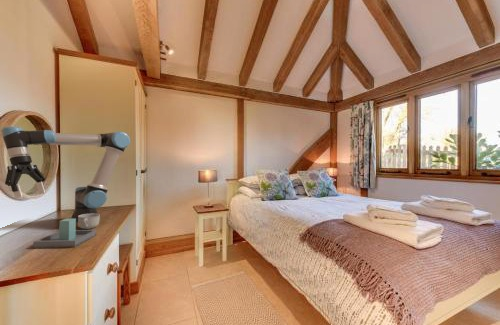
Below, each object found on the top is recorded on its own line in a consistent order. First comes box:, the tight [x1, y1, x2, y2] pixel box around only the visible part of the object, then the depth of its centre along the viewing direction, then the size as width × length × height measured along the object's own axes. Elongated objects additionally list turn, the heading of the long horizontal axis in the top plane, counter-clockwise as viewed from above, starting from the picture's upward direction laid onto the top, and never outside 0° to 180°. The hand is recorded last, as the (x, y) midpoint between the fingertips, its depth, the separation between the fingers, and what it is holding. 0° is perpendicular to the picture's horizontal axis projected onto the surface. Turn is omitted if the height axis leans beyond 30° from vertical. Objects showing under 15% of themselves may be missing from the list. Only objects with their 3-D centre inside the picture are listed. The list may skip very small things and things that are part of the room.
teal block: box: [58, 218, 77, 240], centre depth 105 cm, size 4×4×10 cm
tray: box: [33, 229, 97, 249], centre depth 105 cm, size 16×18×3 cm
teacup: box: [77, 213, 101, 230], centre depth 125 cm, size 14×11×8 cm
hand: (31, 195), depth 109 cm, fingers open, 13 cm apart
